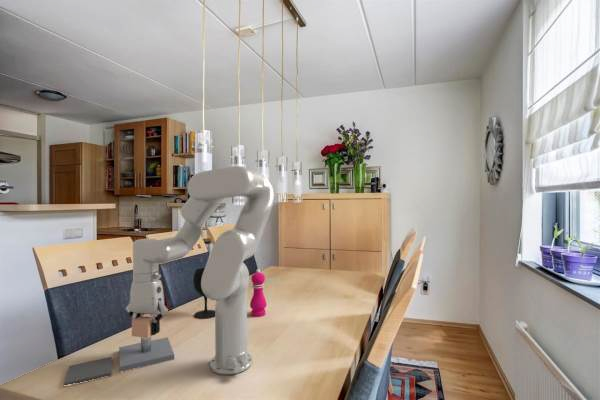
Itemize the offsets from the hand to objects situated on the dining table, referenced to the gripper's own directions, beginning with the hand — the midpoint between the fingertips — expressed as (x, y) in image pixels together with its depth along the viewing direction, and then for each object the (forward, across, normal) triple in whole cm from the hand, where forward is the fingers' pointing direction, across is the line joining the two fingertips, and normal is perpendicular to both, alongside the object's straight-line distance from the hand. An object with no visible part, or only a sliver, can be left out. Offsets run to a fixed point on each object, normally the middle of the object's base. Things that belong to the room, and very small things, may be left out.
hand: (146, 332), depth 102 cm
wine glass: (+8, +2, -38) cm, 39 cm away
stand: (+7, 0, 0) cm, 7 cm away
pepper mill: (+8, -21, -44) cm, 49 cm away
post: (+6, 0, 0) cm, 6 cm away
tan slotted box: (0, 0, 0) cm, 0 cm away
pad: (+7, +9, +13) cm, 17 cm away
